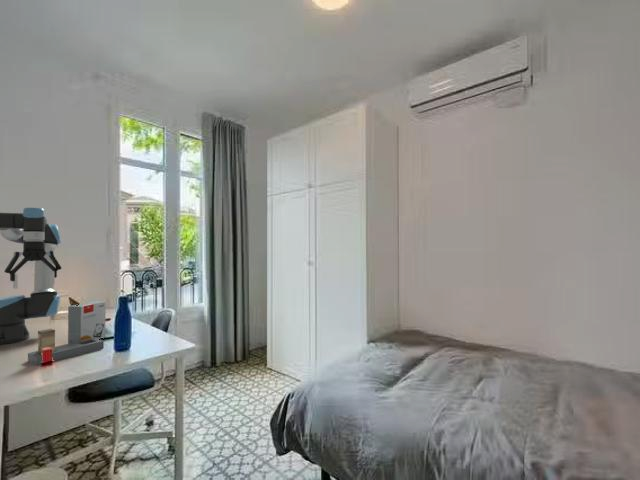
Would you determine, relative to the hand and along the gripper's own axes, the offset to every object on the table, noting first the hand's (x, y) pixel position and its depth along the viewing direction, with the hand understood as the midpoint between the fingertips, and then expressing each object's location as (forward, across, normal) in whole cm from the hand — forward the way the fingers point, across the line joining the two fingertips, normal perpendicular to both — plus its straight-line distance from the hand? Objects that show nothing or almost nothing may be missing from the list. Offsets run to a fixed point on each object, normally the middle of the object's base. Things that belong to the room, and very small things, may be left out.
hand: (34, 286), depth 152 cm
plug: (+32, 0, -13) cm, 34 cm away
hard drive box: (+32, +22, +1) cm, 39 cm away
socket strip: (+32, +8, -13) cm, 35 cm away
